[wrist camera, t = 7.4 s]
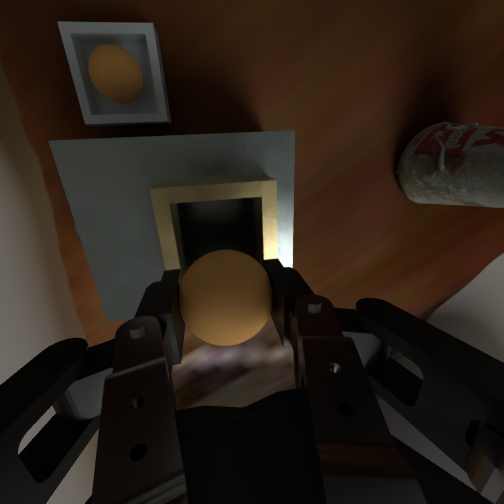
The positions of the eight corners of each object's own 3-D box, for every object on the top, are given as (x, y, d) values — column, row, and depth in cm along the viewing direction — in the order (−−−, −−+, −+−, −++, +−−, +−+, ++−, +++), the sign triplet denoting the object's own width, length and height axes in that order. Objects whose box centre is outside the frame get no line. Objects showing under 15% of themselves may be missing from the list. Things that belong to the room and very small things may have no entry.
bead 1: (142, 53, 22) (129, 35, 19) (151, 106, 24) (141, 98, 20) (94, 54, 22) (71, 35, 18) (106, 107, 23) (88, 99, 20)
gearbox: (265, 136, 27) (307, 127, 16) (268, 255, 32) (300, 314, 21) (84, 144, 25) (-21, 141, 13) (120, 271, 30) (67, 347, 19)
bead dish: (158, 35, 22) (152, 23, 20) (171, 123, 25) (168, 121, 23) (73, 34, 22) (57, 21, 19) (96, 126, 24) (85, 124, 22)
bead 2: (261, 233, 12) (285, 269, 9) (263, 303, 14) (284, 359, 10) (176, 241, 12) (163, 284, 8) (188, 313, 13) (182, 376, 10)
